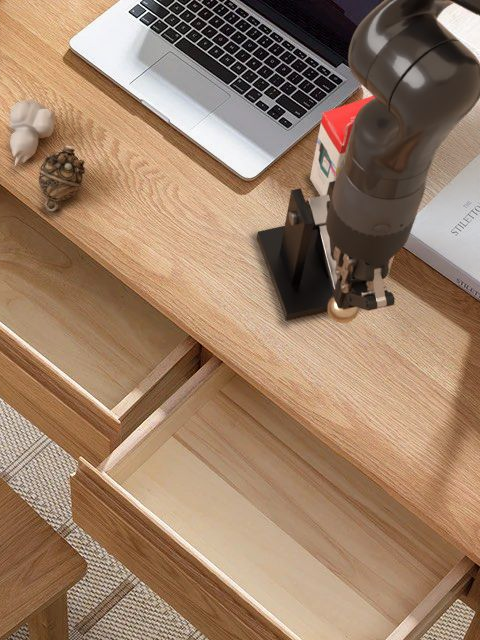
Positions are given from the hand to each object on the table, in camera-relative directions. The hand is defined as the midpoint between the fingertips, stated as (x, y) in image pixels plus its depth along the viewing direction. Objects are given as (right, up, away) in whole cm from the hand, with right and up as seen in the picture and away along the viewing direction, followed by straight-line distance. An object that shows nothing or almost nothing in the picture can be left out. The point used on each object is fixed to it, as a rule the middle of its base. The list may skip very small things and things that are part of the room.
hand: (345, 300), depth 123 cm
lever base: (-2, +4, +12) cm, 13 cm away
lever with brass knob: (-1, +4, +4) cm, 6 cm away
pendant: (-31, +16, +17) cm, 39 cm away
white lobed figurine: (-31, +25, +20) cm, 45 cm away
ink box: (+4, +15, +17) cm, 23 cm away
